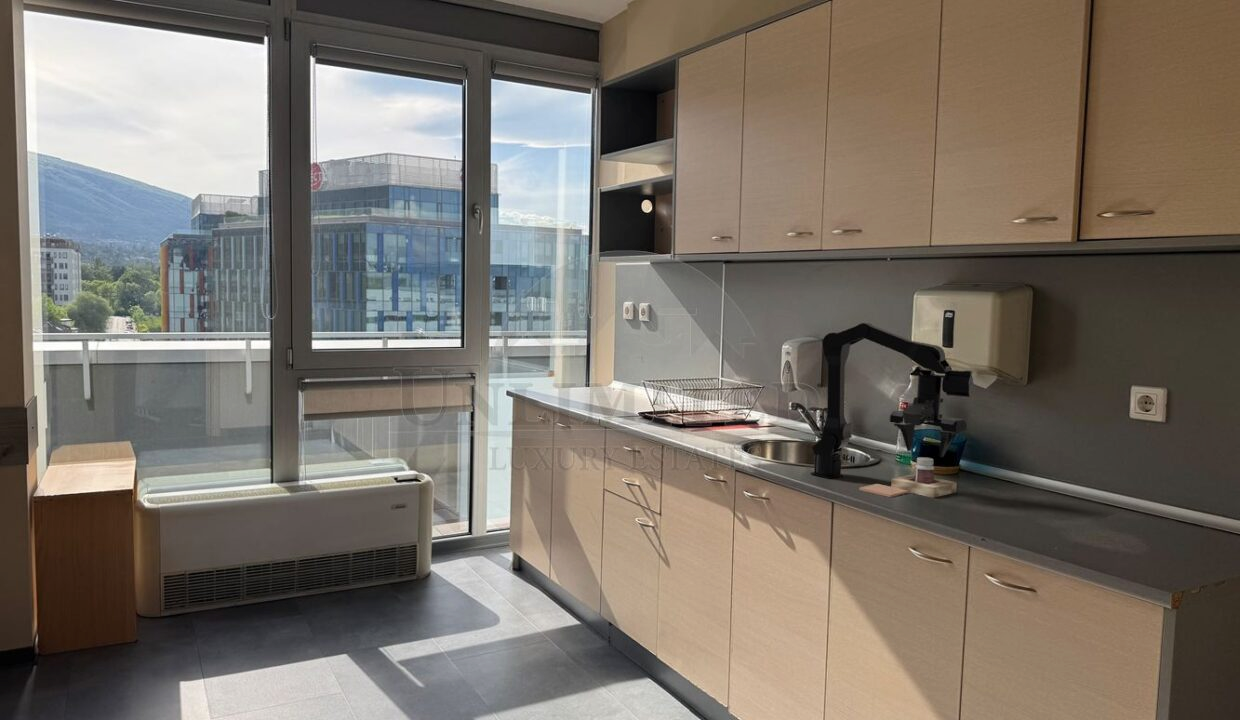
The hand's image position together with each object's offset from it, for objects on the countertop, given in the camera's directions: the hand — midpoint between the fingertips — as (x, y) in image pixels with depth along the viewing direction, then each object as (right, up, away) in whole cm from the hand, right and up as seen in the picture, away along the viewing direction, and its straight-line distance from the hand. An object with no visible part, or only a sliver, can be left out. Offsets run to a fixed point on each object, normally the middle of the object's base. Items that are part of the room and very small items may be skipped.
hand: (925, 453), depth 218 cm
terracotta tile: (-11, -9, -2) cm, 15 cm away
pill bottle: (0, -10, +1) cm, 10 cm away
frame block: (0, -10, +1) cm, 10 cm away
